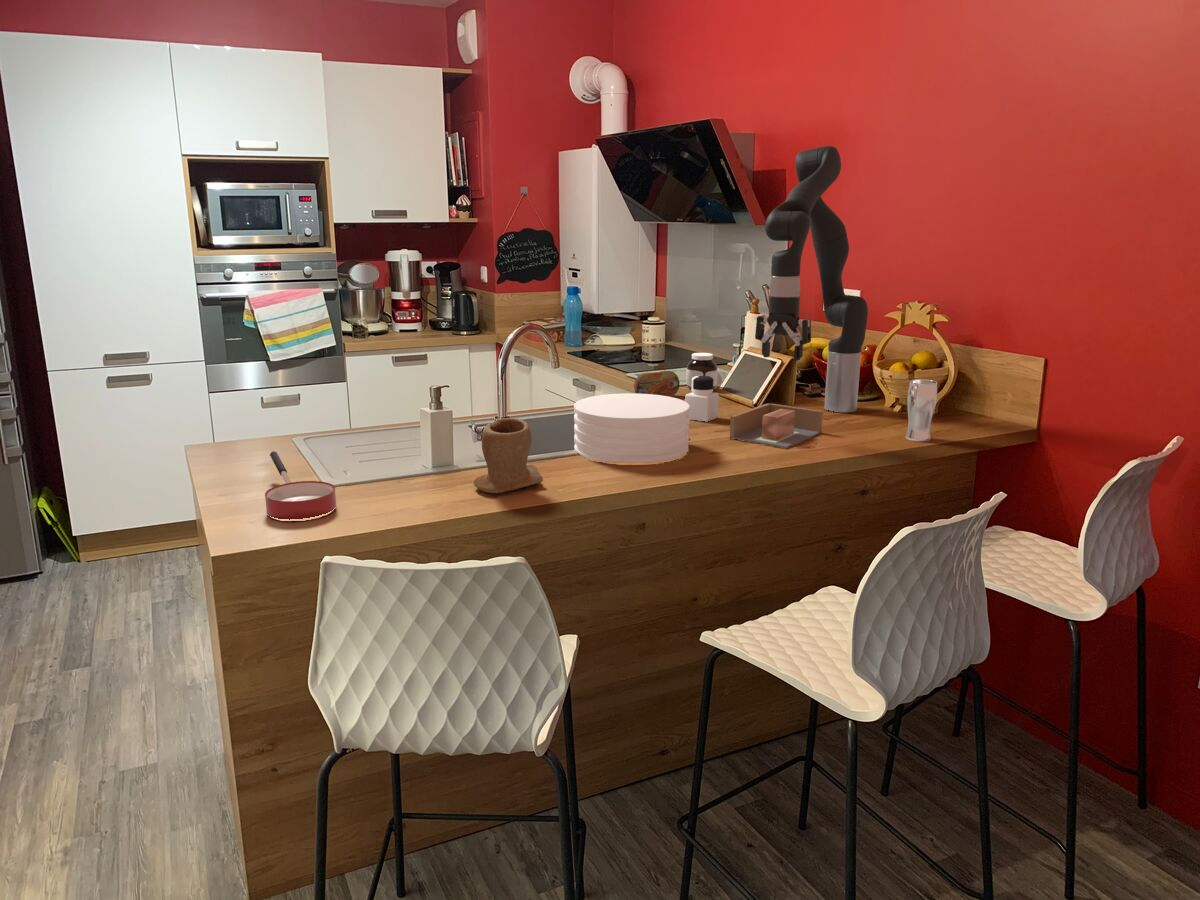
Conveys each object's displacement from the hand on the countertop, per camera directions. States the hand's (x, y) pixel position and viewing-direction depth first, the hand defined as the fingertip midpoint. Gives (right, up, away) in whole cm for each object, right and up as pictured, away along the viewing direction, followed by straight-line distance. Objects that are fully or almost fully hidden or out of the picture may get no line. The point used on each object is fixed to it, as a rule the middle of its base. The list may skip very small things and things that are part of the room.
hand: (781, 358), depth 228 cm
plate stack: (-38, -23, -7) cm, 46 cm away
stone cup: (-65, -32, -37) cm, 81 cm away
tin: (-29, -7, +53) cm, 60 cm away
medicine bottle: (-18, -14, +25) cm, 34 cm away
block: (0, -19, +3) cm, 20 cm away
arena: (0, -20, +6) cm, 20 cm away
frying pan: (-110, -34, -44) cm, 123 cm away
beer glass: (+36, -20, +3) cm, 41 cm away
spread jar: (-12, -3, +67) cm, 68 cm away
